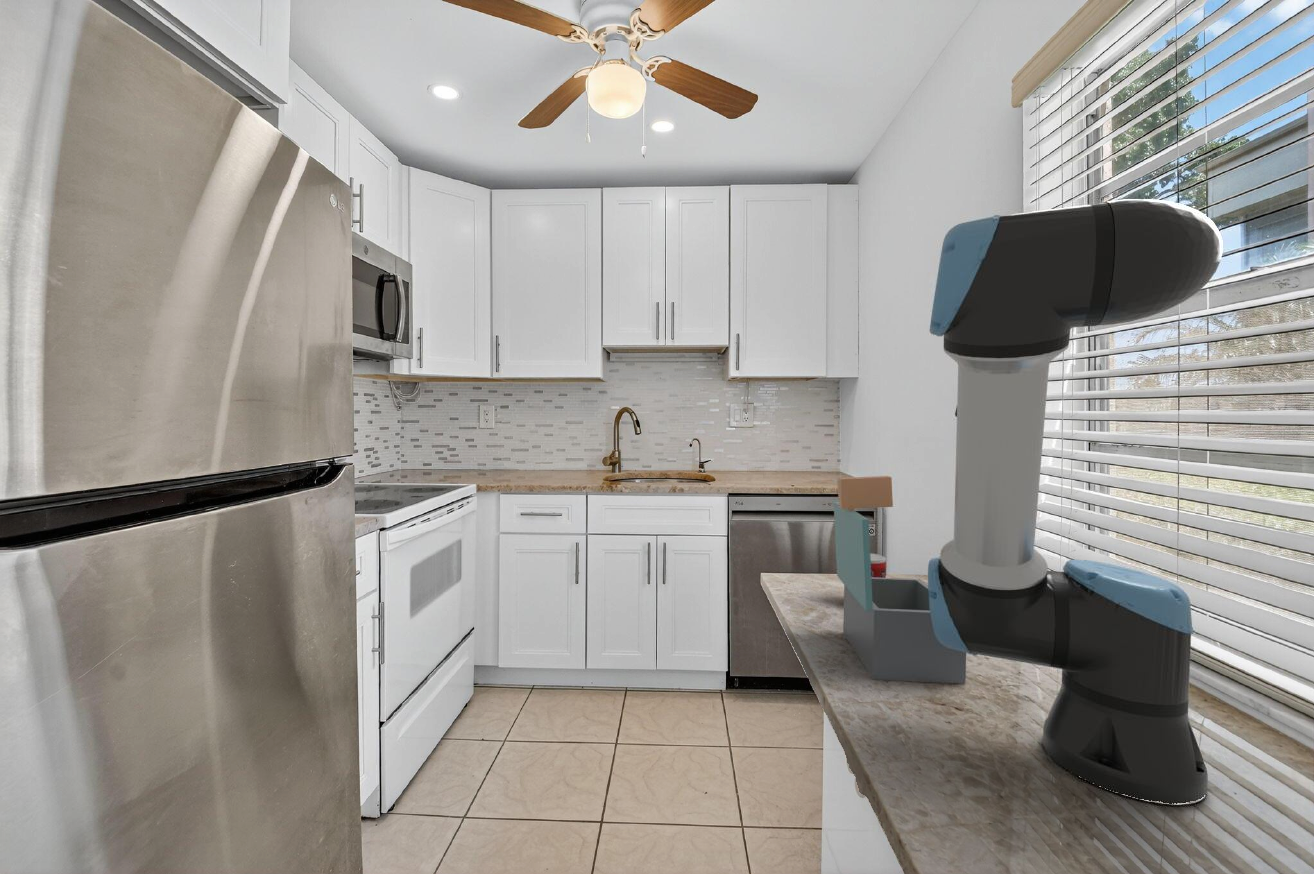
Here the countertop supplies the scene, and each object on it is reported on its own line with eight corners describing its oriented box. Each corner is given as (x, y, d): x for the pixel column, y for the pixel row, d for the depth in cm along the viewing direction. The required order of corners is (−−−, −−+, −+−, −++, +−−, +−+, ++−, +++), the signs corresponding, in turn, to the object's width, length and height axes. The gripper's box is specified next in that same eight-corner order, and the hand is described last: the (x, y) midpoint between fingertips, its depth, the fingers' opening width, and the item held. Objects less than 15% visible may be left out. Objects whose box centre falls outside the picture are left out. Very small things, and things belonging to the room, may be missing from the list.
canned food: (840, 601, 129) (841, 553, 129) (869, 598, 132) (870, 551, 132) (861, 612, 122) (862, 561, 122) (892, 609, 124) (893, 559, 124)
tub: (965, 684, 89) (967, 614, 88) (872, 679, 90) (874, 610, 90) (918, 636, 109) (919, 579, 108) (843, 632, 110) (844, 576, 110)
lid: (910, 482, 88) (853, 484, 89) (915, 609, 89) (859, 611, 90) (872, 471, 109) (827, 473, 110) (877, 574, 109) (831, 576, 110)
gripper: (1052, 325, 89) (1048, 461, 89) (977, 346, 113) (975, 453, 114) (1002, 325, 89) (998, 460, 90) (938, 347, 114) (936, 452, 115)
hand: (985, 456), depth 102 cm, fingers open, 13 cm apart
